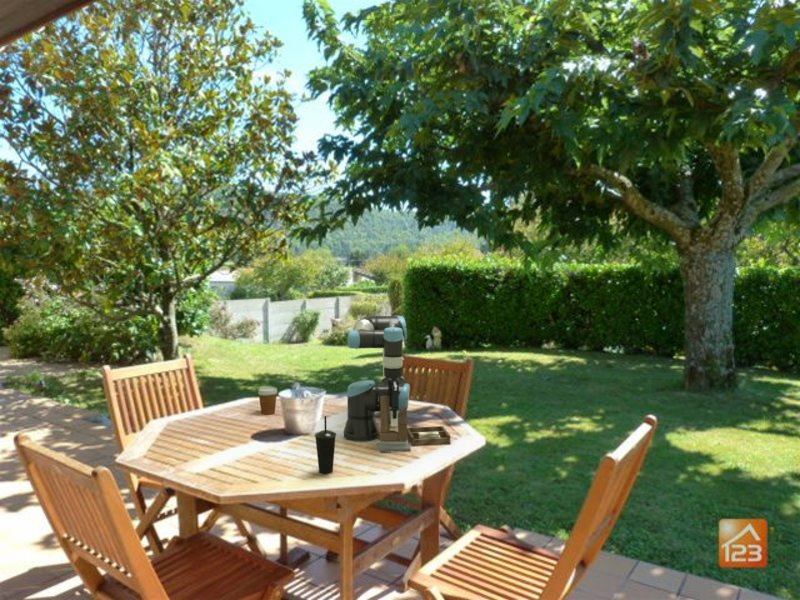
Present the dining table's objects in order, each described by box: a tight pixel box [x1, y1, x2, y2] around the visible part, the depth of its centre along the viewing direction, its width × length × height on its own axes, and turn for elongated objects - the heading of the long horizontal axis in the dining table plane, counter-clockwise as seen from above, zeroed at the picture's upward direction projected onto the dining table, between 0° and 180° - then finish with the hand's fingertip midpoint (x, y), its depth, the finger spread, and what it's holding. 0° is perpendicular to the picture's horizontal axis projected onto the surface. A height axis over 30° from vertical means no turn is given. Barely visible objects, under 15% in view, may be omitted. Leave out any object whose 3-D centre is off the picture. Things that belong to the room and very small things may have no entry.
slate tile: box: [376, 440, 412, 453], centre depth 234 cm, size 12×11×1 cm
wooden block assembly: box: [379, 396, 408, 443], centre depth 233 cm, size 4×11×18 cm, turn 89°
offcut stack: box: [418, 432, 440, 439], centre depth 240 cm, size 9×3×4 cm, turn 98°
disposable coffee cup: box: [257, 386, 278, 416], centre depth 286 cm, size 10×10×12 cm
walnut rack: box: [407, 425, 451, 447], centre depth 244 cm, size 16×14×4 cm
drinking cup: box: [314, 415, 337, 475], centre depth 207 cm, size 8×8×20 cm
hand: (393, 424), depth 233 cm, fingers closed on wooden block assembly, 4 cm apart
